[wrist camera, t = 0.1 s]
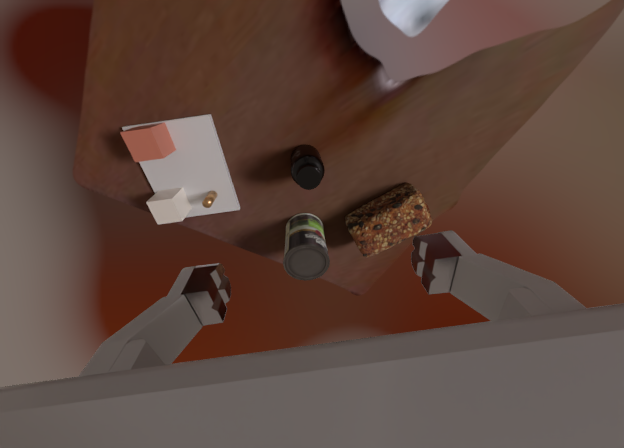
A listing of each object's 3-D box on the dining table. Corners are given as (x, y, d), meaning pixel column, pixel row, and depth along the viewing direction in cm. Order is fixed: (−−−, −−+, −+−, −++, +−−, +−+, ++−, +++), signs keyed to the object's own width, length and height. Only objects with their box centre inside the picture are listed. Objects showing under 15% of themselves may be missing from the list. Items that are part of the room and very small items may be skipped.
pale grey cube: (158, 190, 57) (145, 202, 52) (182, 187, 57) (171, 198, 52) (169, 211, 60) (157, 224, 55) (191, 208, 60) (182, 221, 55)
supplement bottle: (296, 176, 59) (297, 199, 49) (286, 149, 55) (284, 167, 45) (324, 168, 58) (330, 188, 48) (315, 139, 55) (320, 155, 44)
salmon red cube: (137, 126, 50) (119, 132, 45) (164, 122, 50) (150, 128, 45) (150, 153, 53) (135, 162, 48) (176, 149, 53) (163, 158, 48)
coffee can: (301, 205, 63) (303, 236, 51) (331, 226, 67) (339, 260, 55) (277, 232, 67) (273, 267, 55) (306, 250, 71) (309, 287, 59)
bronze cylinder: (207, 191, 58) (200, 200, 54) (215, 190, 58) (209, 199, 54) (210, 198, 59) (203, 208, 55) (218, 197, 59) (212, 207, 55)
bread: (358, 241, 70) (366, 264, 62) (341, 213, 65) (348, 234, 57) (420, 210, 66) (439, 230, 58) (408, 178, 61) (426, 195, 53)
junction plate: (124, 126, 51) (121, 127, 50) (210, 113, 51) (209, 114, 50) (170, 217, 62) (168, 219, 62) (240, 207, 62) (239, 209, 61)
